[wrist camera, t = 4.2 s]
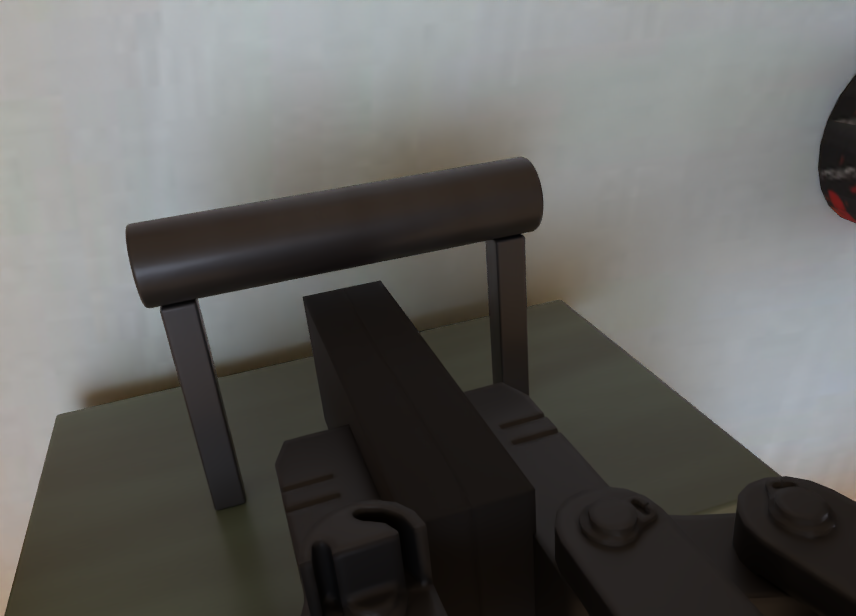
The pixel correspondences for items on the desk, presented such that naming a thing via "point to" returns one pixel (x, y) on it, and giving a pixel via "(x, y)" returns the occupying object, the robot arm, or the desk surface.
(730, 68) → the desk surface
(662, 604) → the robot arm
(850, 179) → the deodorant
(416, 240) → the drawer
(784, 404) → the desk surface
